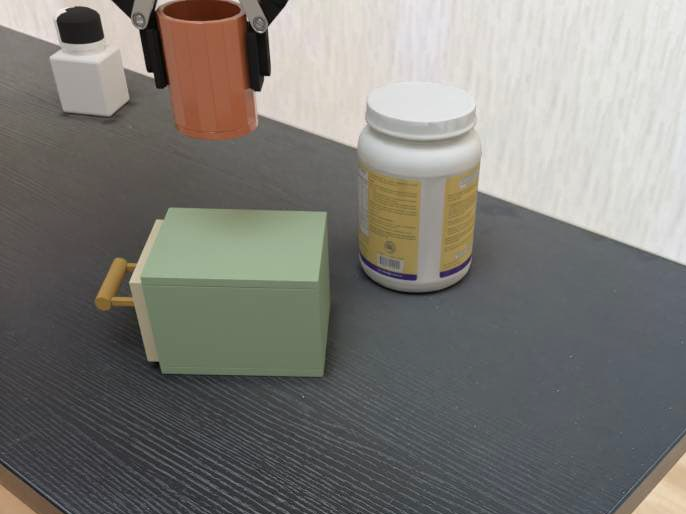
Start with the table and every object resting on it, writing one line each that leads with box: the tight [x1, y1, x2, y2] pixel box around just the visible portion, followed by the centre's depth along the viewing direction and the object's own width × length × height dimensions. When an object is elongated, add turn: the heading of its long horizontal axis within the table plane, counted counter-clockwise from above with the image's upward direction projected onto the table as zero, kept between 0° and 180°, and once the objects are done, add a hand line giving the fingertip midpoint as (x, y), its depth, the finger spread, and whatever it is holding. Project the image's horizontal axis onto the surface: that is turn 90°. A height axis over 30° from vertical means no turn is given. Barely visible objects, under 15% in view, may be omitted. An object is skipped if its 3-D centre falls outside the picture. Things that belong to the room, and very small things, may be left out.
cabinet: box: [140, 207, 331, 378], centre depth 74 cm, size 15×13×10 cm
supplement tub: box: [356, 81, 483, 293], centre depth 81 cm, size 12×12×17 cm
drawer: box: [94, 219, 164, 363], centre depth 74 cm, size 18×11×8 cm, turn 91°
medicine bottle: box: [49, 5, 130, 118], centre depth 112 cm, size 7×7×12 cm
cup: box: [155, 0, 259, 141], centre depth 62 cm, size 7×7×8 cm
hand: (211, 82), depth 63 cm, fingers closed on cup, 6 cm apart
